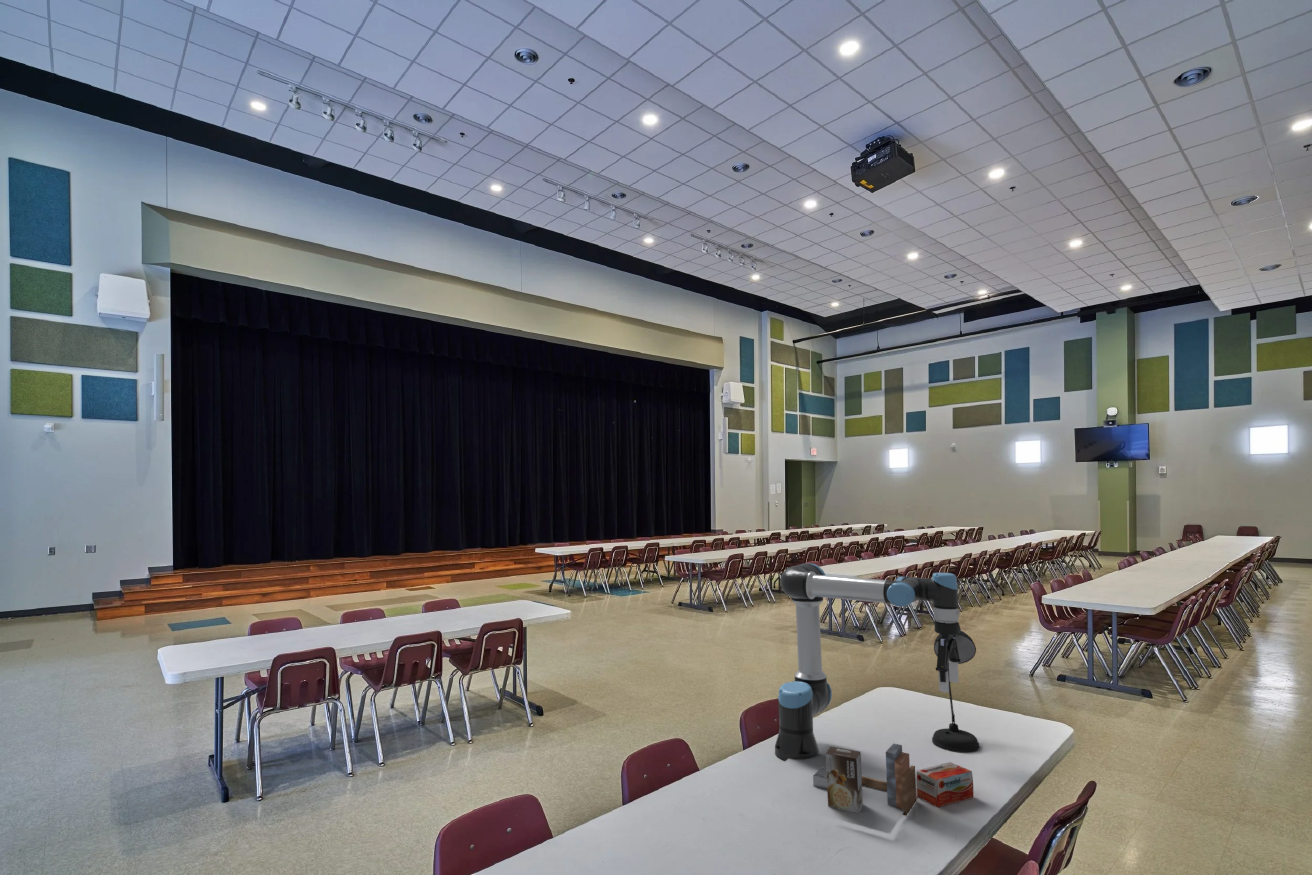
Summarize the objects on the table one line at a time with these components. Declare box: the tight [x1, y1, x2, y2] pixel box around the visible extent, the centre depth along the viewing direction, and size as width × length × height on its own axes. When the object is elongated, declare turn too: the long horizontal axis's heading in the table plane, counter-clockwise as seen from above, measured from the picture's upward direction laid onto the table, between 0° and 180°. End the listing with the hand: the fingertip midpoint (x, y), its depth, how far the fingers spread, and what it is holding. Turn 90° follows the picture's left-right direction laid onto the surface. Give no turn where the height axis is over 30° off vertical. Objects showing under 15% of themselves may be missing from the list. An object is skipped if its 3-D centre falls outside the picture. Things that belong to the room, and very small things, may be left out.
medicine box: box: [916, 761, 974, 808], centre depth 199 cm, size 15×8×8 cm, turn 116°
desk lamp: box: [931, 624, 980, 753], centre depth 242 cm, size 24×26×45 cm
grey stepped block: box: [812, 766, 827, 790], centre depth 206 cm, size 8×8×8 cm
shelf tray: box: [820, 743, 917, 817], centre depth 201 cm, size 29×11×16 cm, turn 55°
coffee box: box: [825, 746, 864, 814], centre depth 192 cm, size 9×6×16 cm
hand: (949, 686), depth 217 cm, fingers open, 13 cm apart
